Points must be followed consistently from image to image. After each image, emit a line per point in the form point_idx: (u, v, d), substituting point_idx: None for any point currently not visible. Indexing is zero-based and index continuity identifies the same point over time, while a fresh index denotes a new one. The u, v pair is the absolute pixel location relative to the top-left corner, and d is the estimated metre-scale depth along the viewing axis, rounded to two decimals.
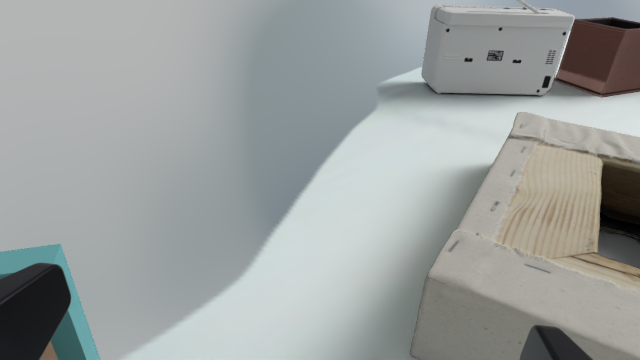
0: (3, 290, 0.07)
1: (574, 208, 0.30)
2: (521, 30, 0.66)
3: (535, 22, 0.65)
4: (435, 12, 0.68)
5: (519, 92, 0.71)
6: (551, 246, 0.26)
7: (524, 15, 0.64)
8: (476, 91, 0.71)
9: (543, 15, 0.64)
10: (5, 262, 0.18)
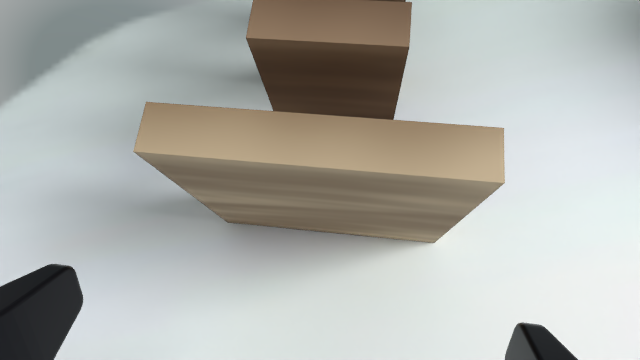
0: (17, 292, 0.07)
1: None
2: None
3: None
4: None
5: None
6: None
7: None
8: None
9: None
10: None
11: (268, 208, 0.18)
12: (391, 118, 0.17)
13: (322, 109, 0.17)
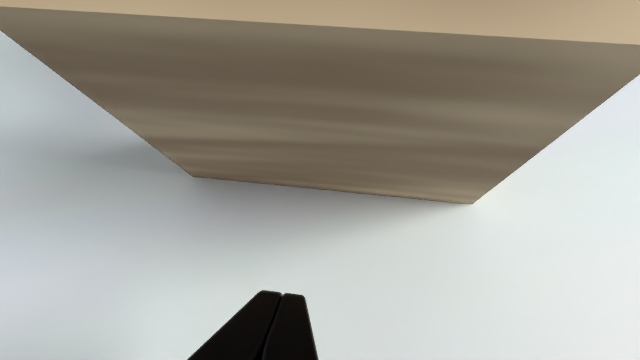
0: (255, 324, 0.07)
1: None
2: None
3: None
4: None
5: None
6: None
7: None
8: None
9: None
10: None
11: (239, 146, 0.12)
12: None
13: None
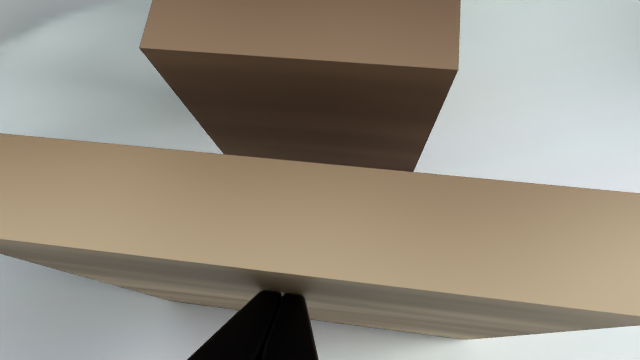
0: (255, 324, 0.07)
1: None
2: None
3: None
4: None
5: None
6: None
7: None
8: None
9: None
10: None
11: (215, 298, 0.11)
12: None
13: (300, 157, 0.11)
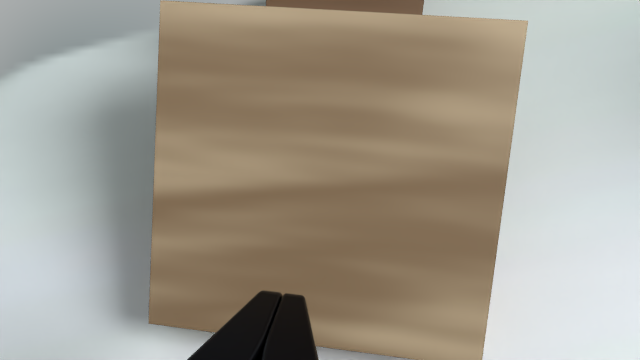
0: (255, 324, 0.07)
1: None
2: None
3: None
4: None
5: None
6: None
7: None
8: None
9: None
10: None
11: (244, 204, 0.13)
12: None
13: None
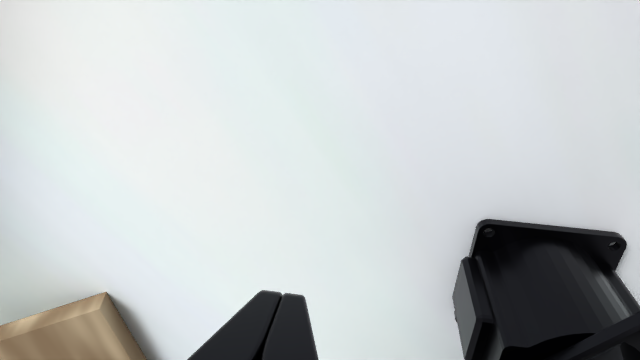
0: (255, 324, 0.07)
1: None
2: None
3: None
4: None
5: None
6: None
7: None
8: None
9: None
10: None
11: None
12: None
13: None
